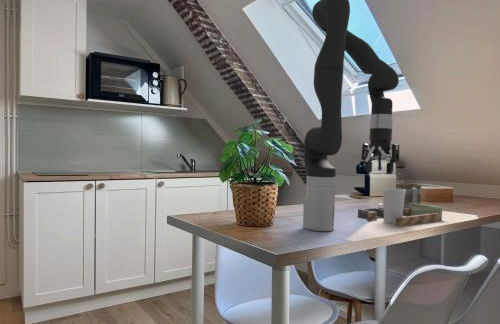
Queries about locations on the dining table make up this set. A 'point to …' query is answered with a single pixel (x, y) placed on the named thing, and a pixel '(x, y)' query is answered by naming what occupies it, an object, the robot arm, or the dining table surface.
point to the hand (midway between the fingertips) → (378, 173)
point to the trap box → (407, 214)
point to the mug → (410, 193)
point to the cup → (393, 204)
